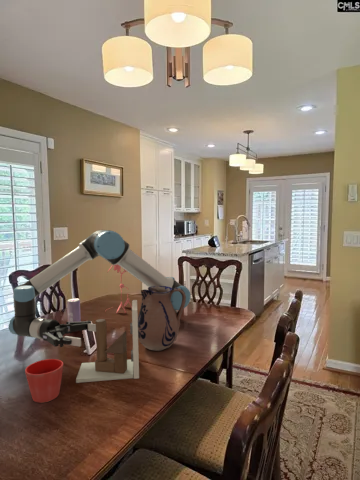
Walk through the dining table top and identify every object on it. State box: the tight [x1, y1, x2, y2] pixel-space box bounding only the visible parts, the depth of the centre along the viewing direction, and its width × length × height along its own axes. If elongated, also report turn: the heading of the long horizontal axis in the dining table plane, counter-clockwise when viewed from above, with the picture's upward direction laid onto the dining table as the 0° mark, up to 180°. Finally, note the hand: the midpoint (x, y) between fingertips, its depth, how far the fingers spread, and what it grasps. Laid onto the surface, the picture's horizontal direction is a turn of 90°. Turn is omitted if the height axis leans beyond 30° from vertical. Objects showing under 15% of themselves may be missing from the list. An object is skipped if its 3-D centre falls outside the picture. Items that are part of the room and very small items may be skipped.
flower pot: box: [24, 358, 64, 404], centre depth 100 cm, size 11×11×10 cm
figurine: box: [105, 264, 132, 314], centre depth 188 cm, size 15×26×35 cm, turn 164°
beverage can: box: [66, 297, 82, 331], centre depth 158 cm, size 6×6×15 cm
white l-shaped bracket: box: [75, 299, 140, 384], centre depth 114 cm, size 21×13×24 cm, turn 98°
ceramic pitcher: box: [138, 286, 186, 352], centre depth 136 cm, size 18×21×25 cm
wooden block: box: [94, 318, 128, 374], centre depth 113 cm, size 4×11×18 cm, turn 79°
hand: (92, 335), depth 116 cm, fingers open, 13 cm apart
